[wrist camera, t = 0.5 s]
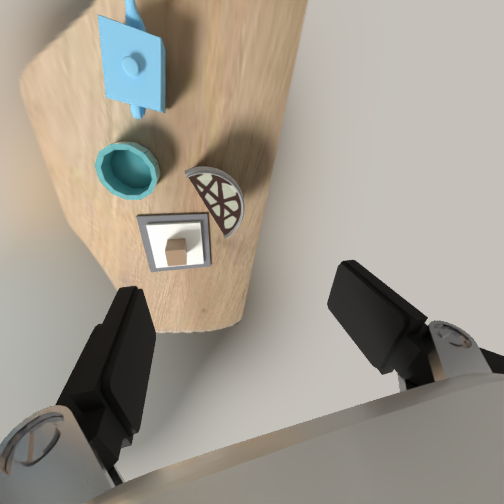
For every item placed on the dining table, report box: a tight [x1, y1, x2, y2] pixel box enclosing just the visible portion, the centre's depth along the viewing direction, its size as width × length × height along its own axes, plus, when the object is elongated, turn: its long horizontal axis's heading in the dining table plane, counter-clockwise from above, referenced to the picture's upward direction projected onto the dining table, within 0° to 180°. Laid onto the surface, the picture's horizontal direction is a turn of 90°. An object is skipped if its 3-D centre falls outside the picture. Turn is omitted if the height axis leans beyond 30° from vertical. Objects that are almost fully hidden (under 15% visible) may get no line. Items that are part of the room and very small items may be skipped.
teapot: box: [98, 0, 166, 119], centre depth 25 cm, size 12×6×8 cm, turn 167°
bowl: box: [95, 142, 160, 200], centre depth 32 cm, size 8×8×5 cm
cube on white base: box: [146, 221, 204, 268], centre depth 41 cm, size 10×10×5 cm
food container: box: [185, 166, 244, 239], centre depth 35 cm, size 12×6×10 cm, turn 24°
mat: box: [137, 213, 211, 272], centre depth 43 cm, size 13×13×1 cm
